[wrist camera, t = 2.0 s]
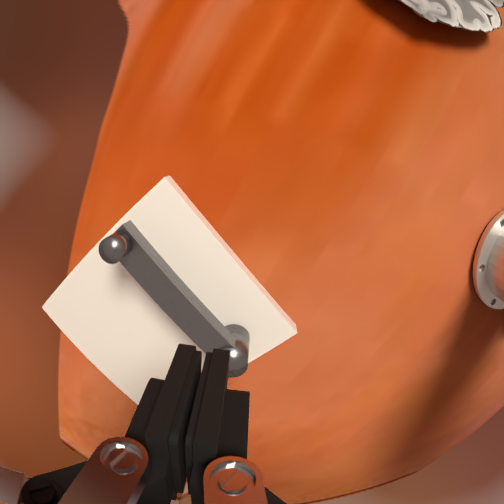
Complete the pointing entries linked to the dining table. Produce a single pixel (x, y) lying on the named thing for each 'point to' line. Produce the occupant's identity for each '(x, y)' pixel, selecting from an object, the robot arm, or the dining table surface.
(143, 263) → the bar
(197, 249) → the door board
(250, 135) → the dining table surface
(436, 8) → the brain slice
